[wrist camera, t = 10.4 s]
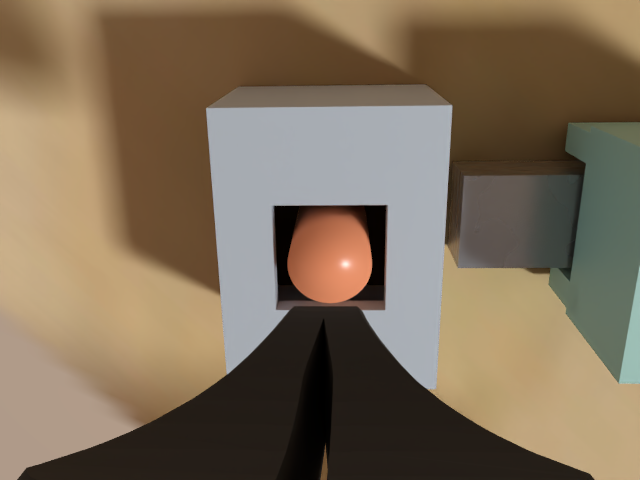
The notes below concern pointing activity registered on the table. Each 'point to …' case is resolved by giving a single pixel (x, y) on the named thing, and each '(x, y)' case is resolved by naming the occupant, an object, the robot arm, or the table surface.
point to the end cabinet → (332, 203)
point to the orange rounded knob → (330, 252)
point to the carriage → (606, 246)
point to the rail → (515, 213)
